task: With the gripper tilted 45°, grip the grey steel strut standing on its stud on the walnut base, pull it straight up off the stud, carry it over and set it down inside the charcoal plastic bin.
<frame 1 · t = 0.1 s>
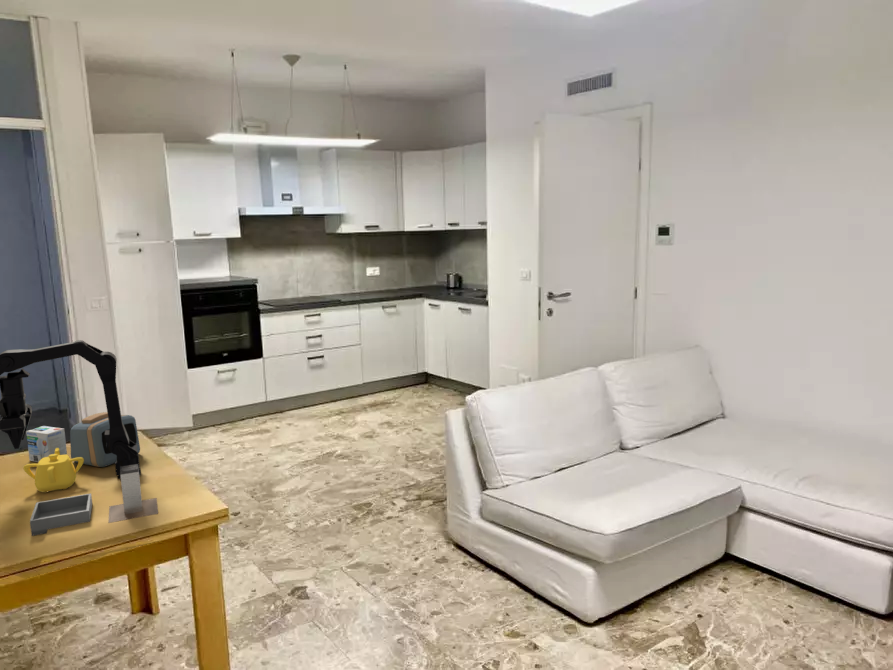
hand: (19, 444, 194), 15 cm above the table, tool pointing down, fingers open, 9 cm apart
teapot: (57, 486, 200), on the table
bin: (63, 520, 175), on the table
grey toaster: (106, 459, 224), on the table
light bulb box: (48, 460, 225), on the table
stud base: (133, 513, 179), on the table
strut: (133, 509, 179), point 1 cm above the table, touching stud base
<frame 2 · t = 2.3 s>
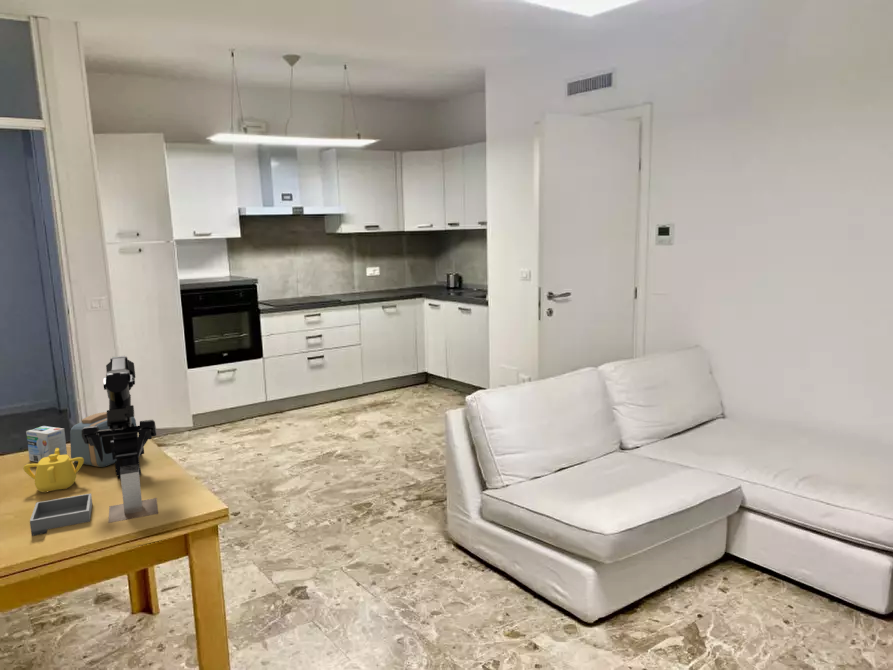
hand: (120, 458, 183), 13 cm above the table, tool tilted 40°, fingers open, 9 cm apart
nothing on the table moved.
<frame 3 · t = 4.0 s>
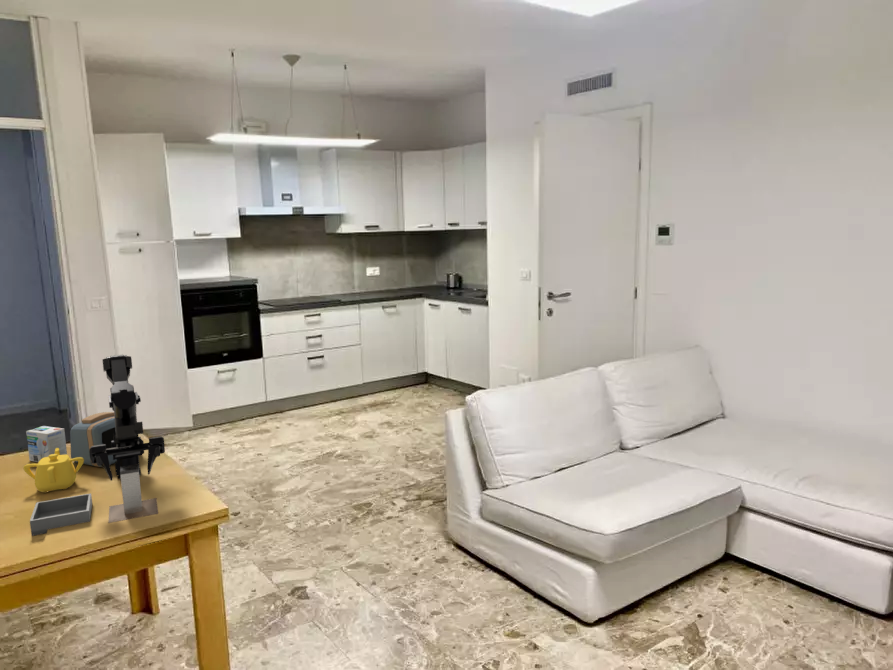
hand: (130, 476, 179), 10 cm above the table, tool tilted 45°, fingers open, 9 cm apart
nothing on the table moved.
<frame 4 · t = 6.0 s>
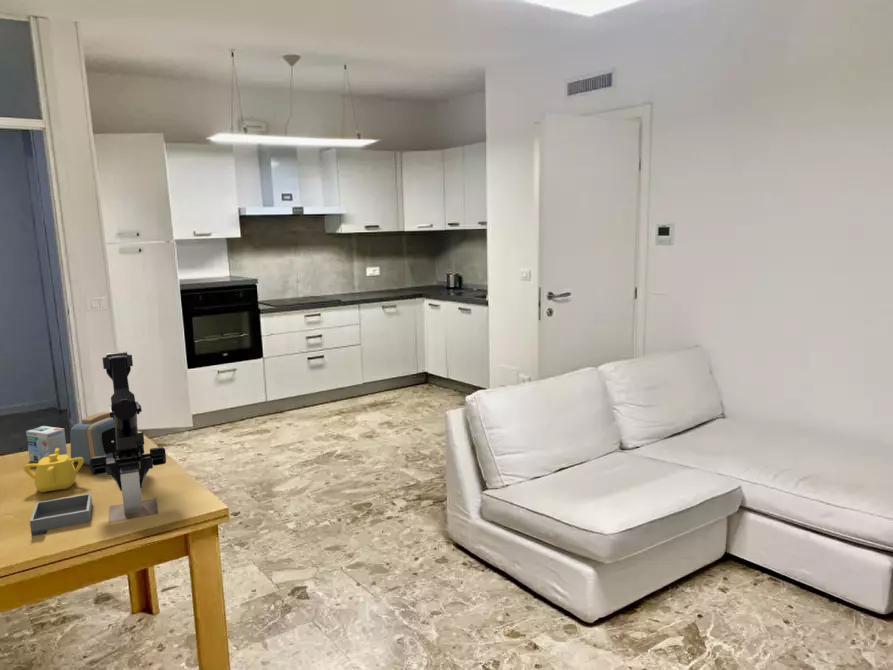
hand: (131, 488, 176), 8 cm above the table, tool tilted 45°, fingers closed on strut, 4 cm apart
strut: (133, 509, 179), point 1 cm above the table, touching gripper, stud base
everything else where it was.
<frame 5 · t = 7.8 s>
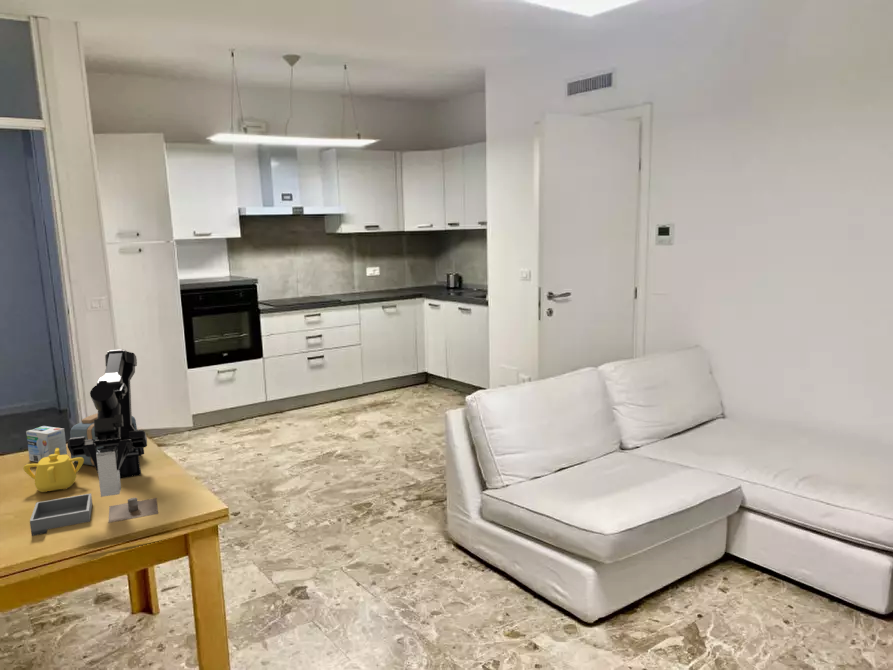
hand: (107, 470, 174), 13 cm above the table, tool tilted 45°, fingers closed on strut, 4 cm apart
strut: (111, 492, 176), point 7 cm above the table, touching gripper
everything else where it was.
when the fingers open (9 cm above the table, at t = 10.1 s): strut drops 1 cm, resting on bin.
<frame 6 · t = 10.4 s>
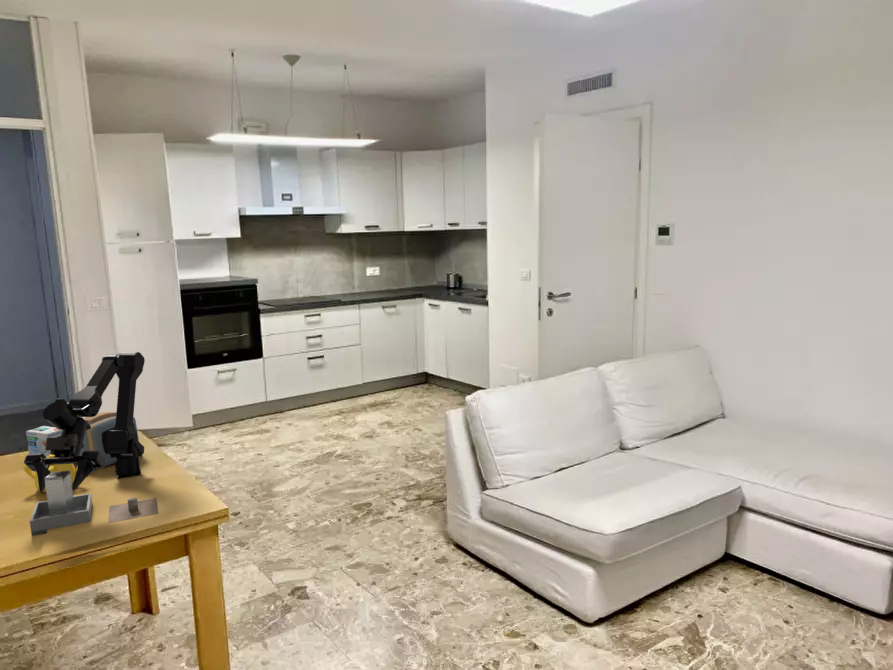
hand: (57, 490, 172), 9 cm above the table, tool tilted 45°, fingers open, 8 cm apart
strut: (63, 517, 175), point 1 cm above the table, touching bin
everything else where it was.
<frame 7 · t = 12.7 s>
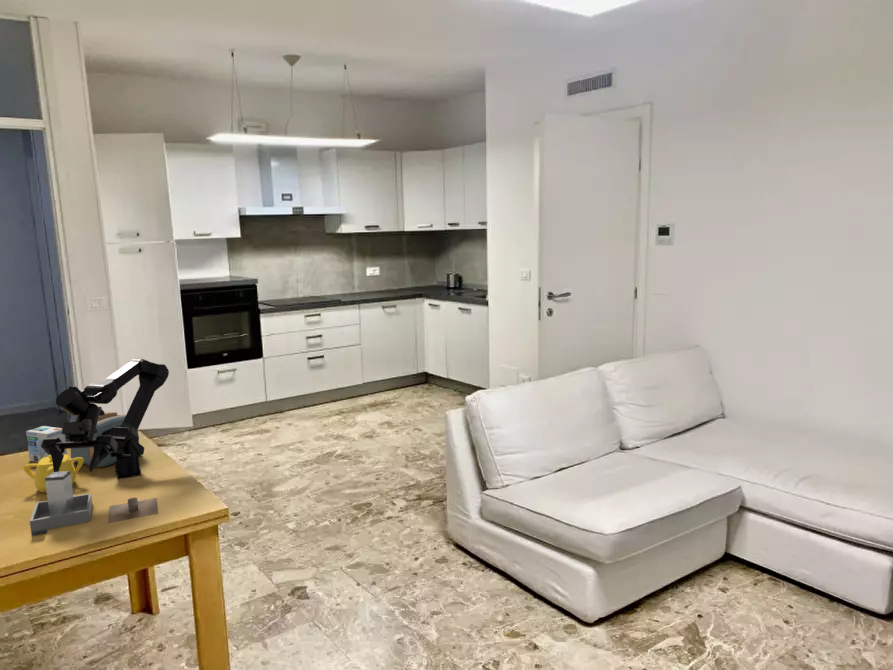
hand: (72, 472, 181), 11 cm above the table, tool tilted 45°, fingers open, 9 cm apart
nothing on the table moved.
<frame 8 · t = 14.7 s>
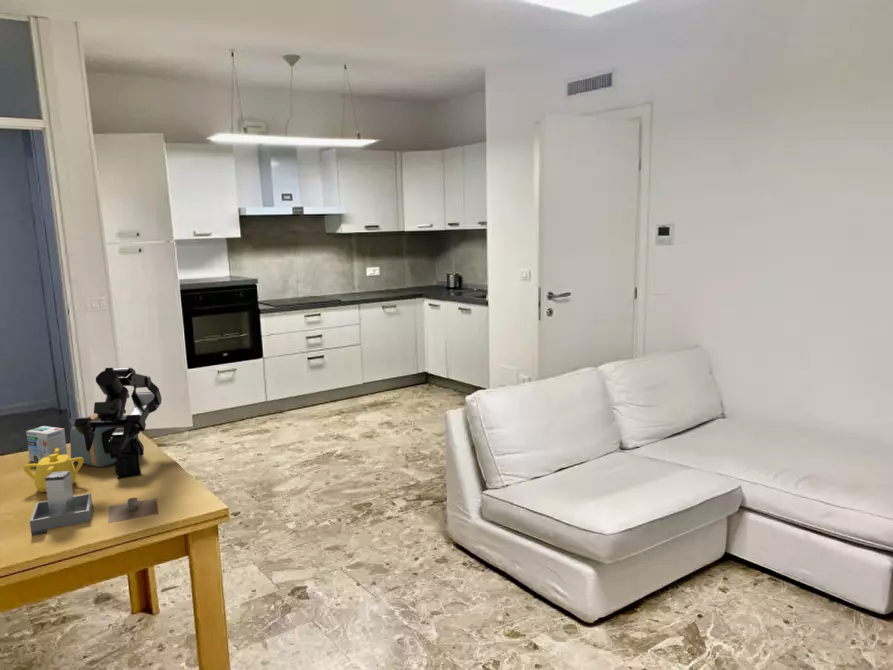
hand: (104, 449, 191), 14 cm above the table, tool tilted 45°, fingers open, 9 cm apart
nothing on the table moved.
at the end: strut inside the target area on the bin (0.1 cm from its centre), point 1.0 cm above the bin's base; strut touching bin; the gripper is holding nothing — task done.
